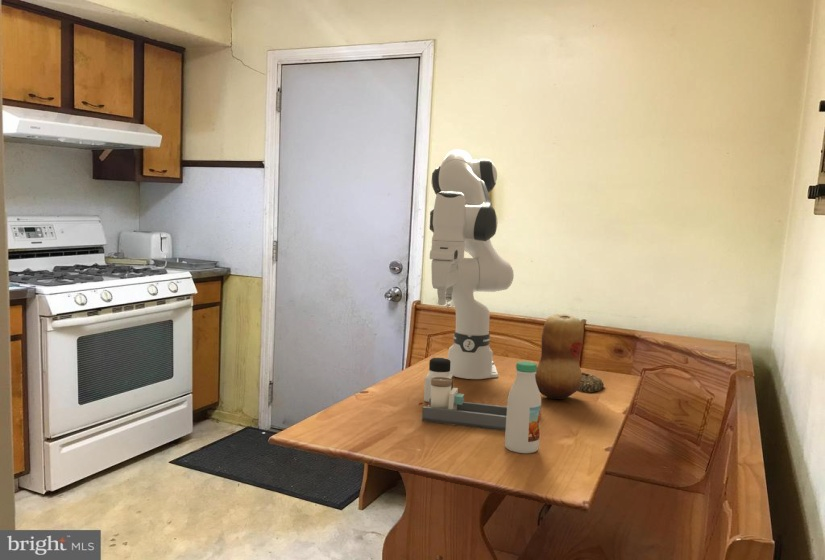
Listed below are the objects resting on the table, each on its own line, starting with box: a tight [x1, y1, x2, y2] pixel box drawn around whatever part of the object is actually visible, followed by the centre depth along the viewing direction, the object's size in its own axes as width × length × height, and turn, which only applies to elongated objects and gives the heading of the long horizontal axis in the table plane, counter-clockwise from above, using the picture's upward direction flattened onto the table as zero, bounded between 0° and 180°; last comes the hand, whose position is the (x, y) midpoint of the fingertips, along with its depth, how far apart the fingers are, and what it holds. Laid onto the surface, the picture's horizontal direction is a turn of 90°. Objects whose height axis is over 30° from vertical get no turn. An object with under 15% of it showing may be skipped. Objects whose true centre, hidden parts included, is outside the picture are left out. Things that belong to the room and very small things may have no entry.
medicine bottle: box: [423, 356, 454, 403], centre depth 183 cm, size 7×7×12 cm
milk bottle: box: [504, 360, 542, 454], centre depth 147 cm, size 8×8×20 cm
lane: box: [421, 398, 507, 432], centre depth 165 cm, size 9×24×8 cm, turn 76°
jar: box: [431, 377, 452, 409], centre depth 167 cm, size 5×5×9 cm
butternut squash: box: [535, 313, 585, 400], centre depth 189 cm, size 14×13×25 cm
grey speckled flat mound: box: [576, 371, 604, 394], centre depth 205 cm, size 13×12×5 cm
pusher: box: [448, 387, 465, 410], centre depth 166 cm, size 6×3×6 cm, turn 166°
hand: (445, 302), depth 174 cm, fingers open, 8 cm apart
